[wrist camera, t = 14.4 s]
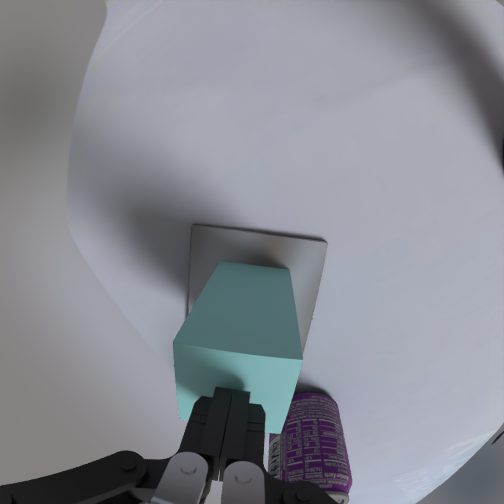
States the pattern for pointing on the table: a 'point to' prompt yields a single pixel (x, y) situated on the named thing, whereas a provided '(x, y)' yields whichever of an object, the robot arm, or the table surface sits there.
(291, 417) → the beverage can
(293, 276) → the post
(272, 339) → the tall teal block
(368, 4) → the table surface
